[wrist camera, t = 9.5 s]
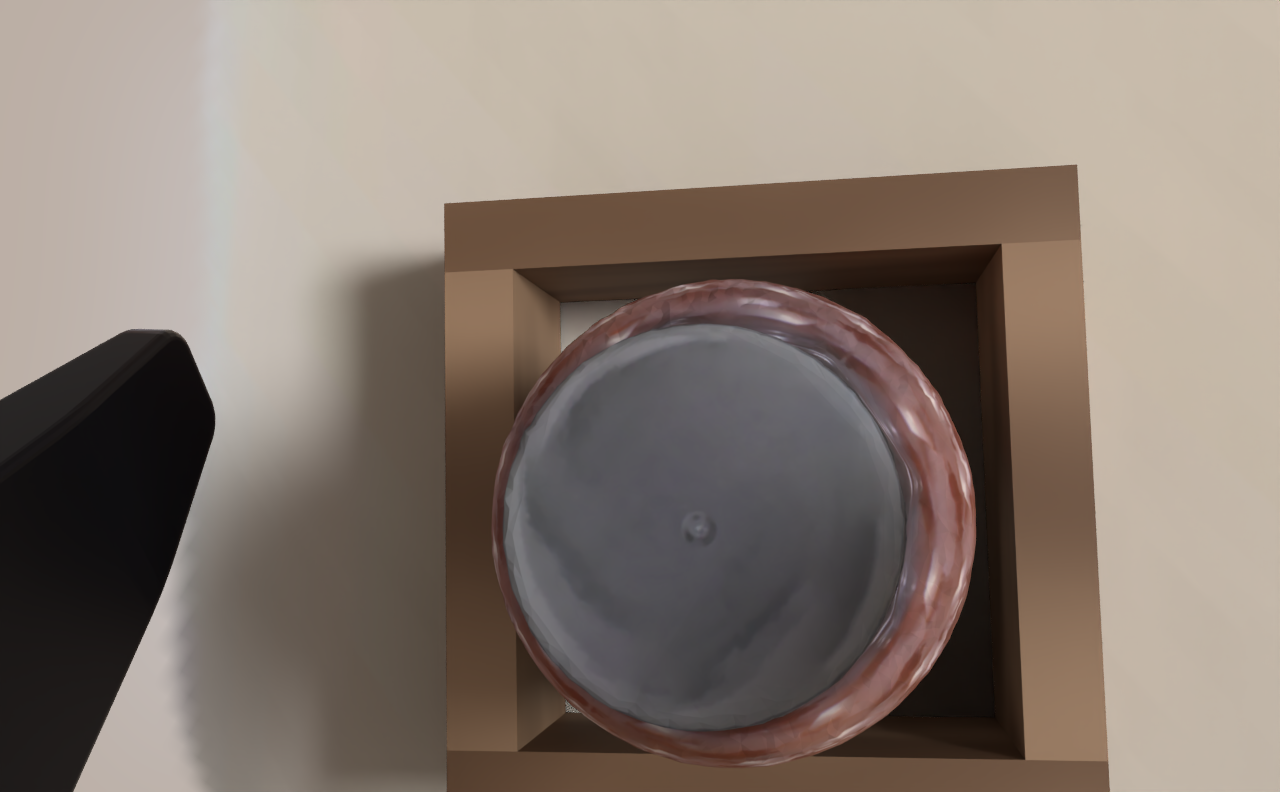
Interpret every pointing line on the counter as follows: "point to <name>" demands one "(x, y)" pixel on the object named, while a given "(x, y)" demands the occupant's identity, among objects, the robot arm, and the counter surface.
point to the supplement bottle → (734, 524)
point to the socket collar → (808, 260)
